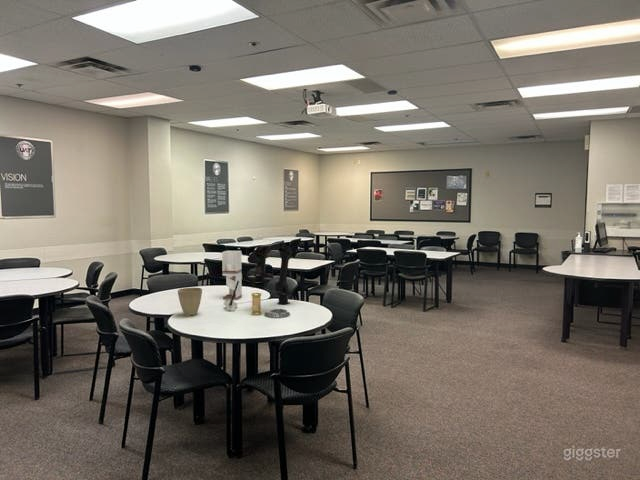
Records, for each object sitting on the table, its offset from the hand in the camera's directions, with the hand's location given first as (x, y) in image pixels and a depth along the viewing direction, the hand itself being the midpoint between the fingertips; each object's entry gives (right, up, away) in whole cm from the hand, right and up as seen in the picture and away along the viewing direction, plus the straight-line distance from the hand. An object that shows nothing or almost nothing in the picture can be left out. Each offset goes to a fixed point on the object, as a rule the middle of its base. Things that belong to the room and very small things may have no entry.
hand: (258, 288), depth 294 cm
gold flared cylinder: (0, -15, -9) cm, 18 cm away
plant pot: (-41, -16, -11) cm, 45 cm away
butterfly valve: (-19, -15, +7) cm, 25 cm away
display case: (-25, -12, +40) cm, 49 cm away
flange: (+13, -15, -11) cm, 23 cm away
